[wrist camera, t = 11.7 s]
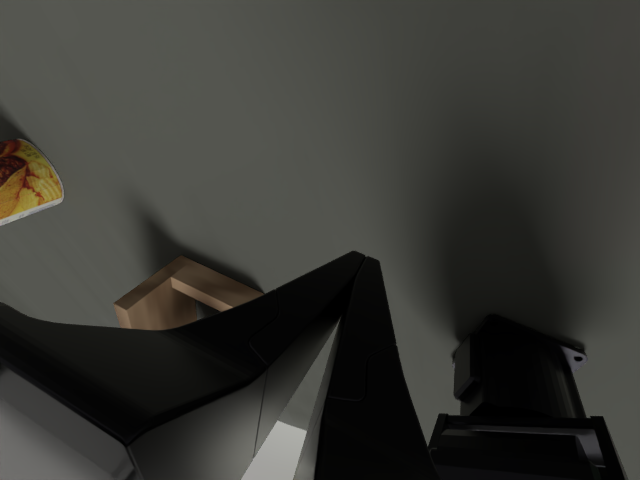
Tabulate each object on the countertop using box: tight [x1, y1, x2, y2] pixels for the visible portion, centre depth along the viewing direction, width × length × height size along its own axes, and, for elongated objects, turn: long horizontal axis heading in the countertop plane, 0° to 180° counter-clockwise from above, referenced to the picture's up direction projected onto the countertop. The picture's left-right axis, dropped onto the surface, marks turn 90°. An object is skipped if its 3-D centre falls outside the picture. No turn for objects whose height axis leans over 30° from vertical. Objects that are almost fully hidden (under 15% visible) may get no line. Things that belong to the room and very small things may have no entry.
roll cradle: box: [113, 255, 264, 330], centre depth 34 cm, size 10×17×8 cm, turn 169°
